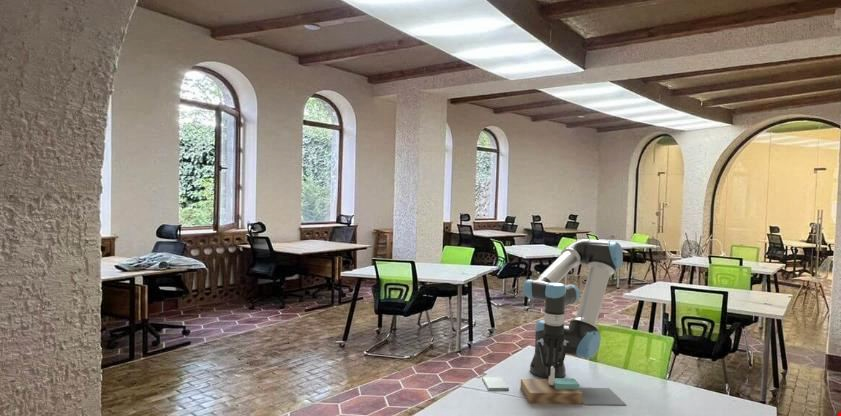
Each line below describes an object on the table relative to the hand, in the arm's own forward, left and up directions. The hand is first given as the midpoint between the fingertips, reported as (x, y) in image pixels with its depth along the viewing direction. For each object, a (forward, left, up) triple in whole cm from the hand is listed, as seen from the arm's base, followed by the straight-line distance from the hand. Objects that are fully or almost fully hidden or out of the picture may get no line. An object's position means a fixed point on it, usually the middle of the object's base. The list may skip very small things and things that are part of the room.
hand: (551, 383), depth 205 cm
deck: (0, 0, -5) cm, 5 cm away
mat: (+14, +12, -5) cm, 19 cm away
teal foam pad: (+4, +3, -1) cm, 5 cm away
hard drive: (-22, -4, -6) cm, 23 cm away
